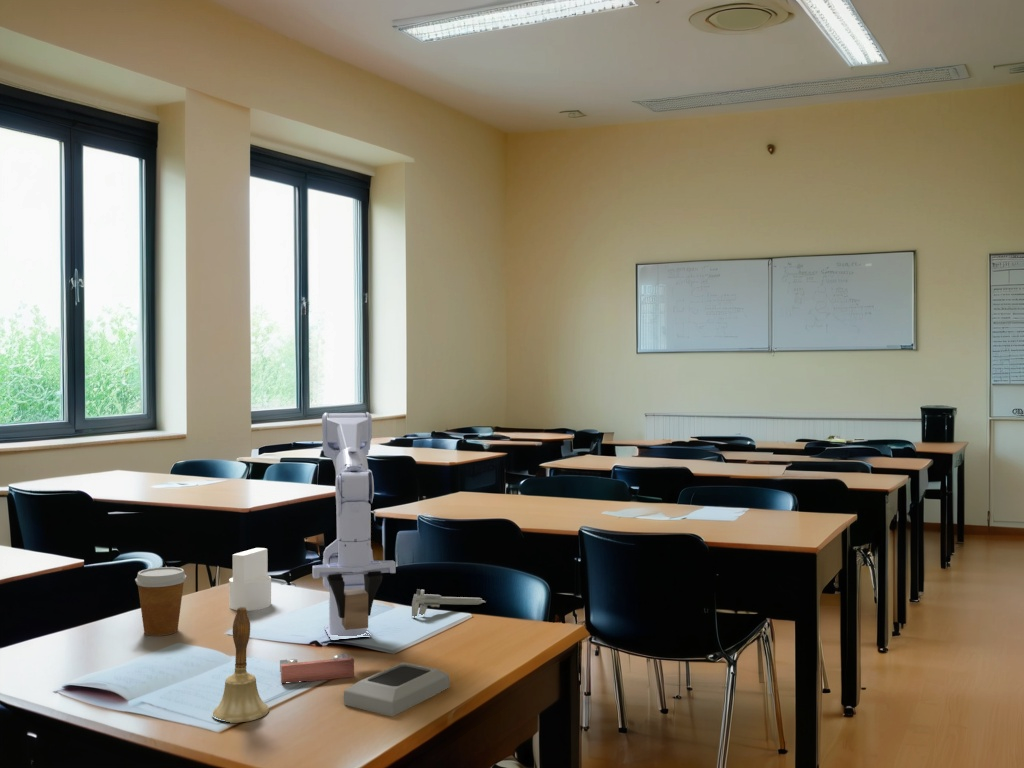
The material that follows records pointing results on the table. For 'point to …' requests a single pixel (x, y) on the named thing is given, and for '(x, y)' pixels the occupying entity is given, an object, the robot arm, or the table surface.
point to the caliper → (438, 601)
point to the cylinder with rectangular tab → (250, 580)
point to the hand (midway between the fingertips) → (354, 615)
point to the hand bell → (241, 681)
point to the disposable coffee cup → (160, 599)
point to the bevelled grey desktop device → (396, 688)
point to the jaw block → (355, 609)
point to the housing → (317, 669)
